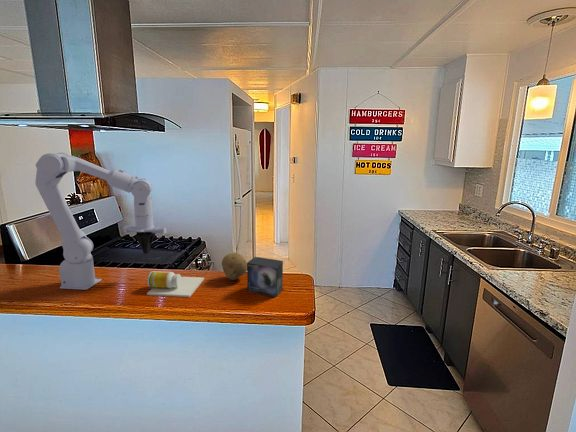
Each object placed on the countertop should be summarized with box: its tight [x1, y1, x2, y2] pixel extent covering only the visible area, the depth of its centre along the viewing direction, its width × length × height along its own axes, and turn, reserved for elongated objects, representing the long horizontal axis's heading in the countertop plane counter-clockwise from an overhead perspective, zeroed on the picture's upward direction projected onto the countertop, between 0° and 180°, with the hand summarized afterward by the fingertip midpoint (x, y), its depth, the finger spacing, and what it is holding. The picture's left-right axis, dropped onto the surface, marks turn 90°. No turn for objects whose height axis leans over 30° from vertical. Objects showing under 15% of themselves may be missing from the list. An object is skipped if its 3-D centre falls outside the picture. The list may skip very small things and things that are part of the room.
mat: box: [146, 276, 205, 298], centre depth 109 cm, size 14×14×1 cm
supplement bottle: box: [147, 270, 182, 289], centre depth 106 cm, size 5×5×10 cm
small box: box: [246, 256, 284, 298], centre depth 106 cm, size 11×6×10 cm, turn 70°
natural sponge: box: [221, 252, 248, 281], centre depth 114 cm, size 9×9×10 cm
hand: (146, 252), depth 113 cm, fingers closed
